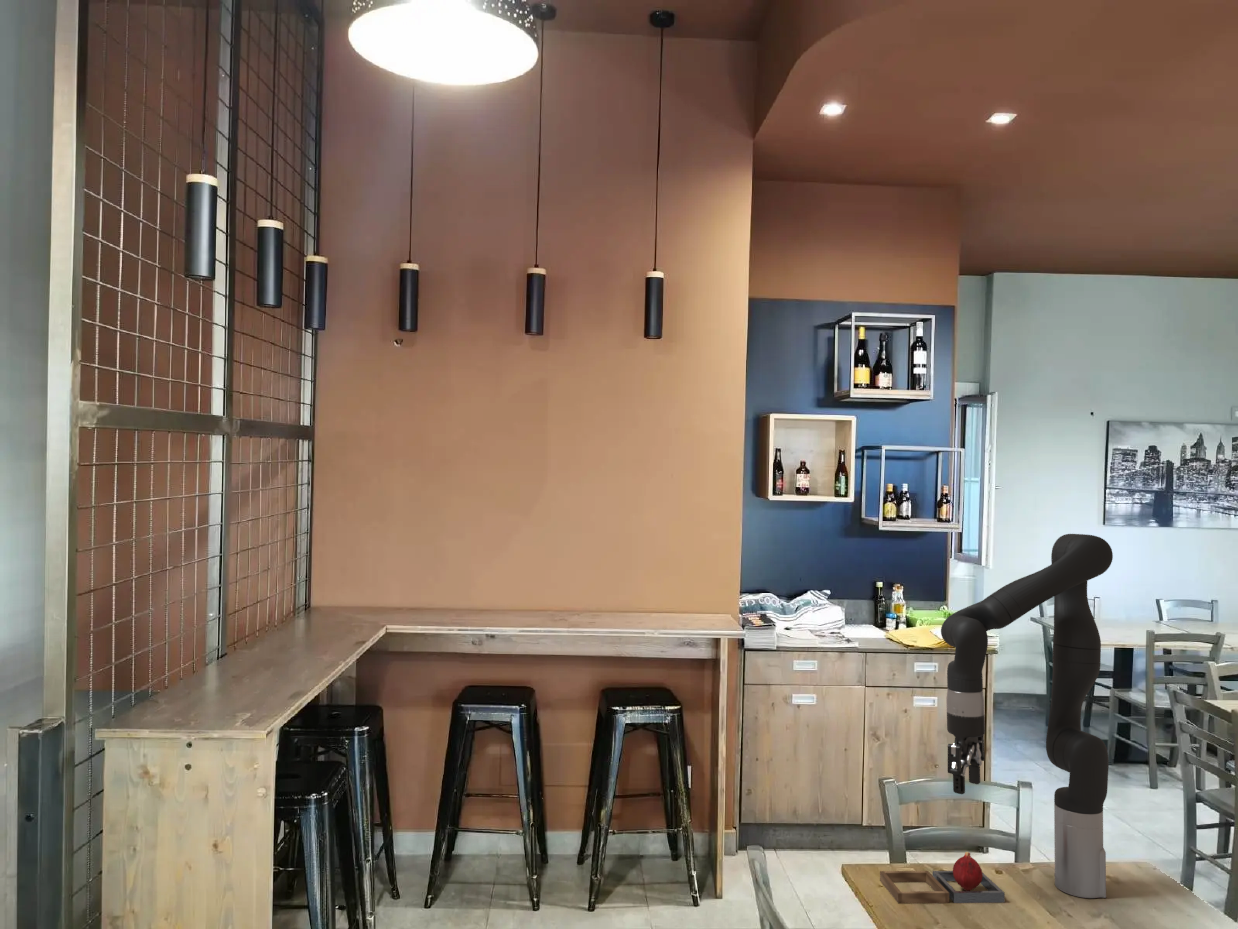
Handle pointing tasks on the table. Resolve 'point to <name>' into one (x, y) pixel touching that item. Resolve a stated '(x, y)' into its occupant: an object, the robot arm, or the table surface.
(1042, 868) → the table surface
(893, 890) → the walnut frame
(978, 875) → the pomegranate
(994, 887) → the grey frame
